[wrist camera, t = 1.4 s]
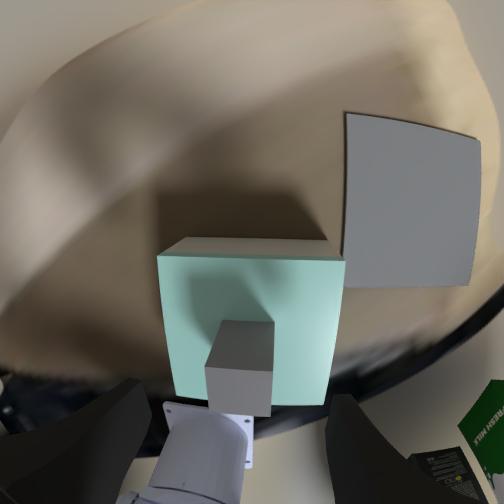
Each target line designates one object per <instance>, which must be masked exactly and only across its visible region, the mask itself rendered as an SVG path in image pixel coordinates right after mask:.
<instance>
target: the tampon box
mask: <svg viewBox="0 0 504 504" xmlns="http://www.w3.org/2000/svg"><path fill="white" fill-rule="evenodd" d="M407 460H408V461H409V462H410V463H411V464H413V465H414V466H415V467H416V468H418V469H419V470H420V471H422V472H423V473H424V474H426V475H428V476H429V477H431V478H432V479H434V480H436V481H437V482H439V483H440V484H442V485H444V486H446V487H448V488H450V489H452V490H454V491H456V492H458V493H460V494H463V495H466V496H469V497H471V498H474V499H477V500H480V501H482V502H483V504H489V503H488V501H487V499H486V497H485V495H484V493H483V490H482V488H481V486H480V484H479V482H478V480H477V478H476V476H475V474H474V472H473V470H472V468H471V467H470V464H469V462H468V461H467V458H466V457H465V455H464V453H463V451H462V449H461V448H460V446H458V447H454V448H449V449H443V450H437V451H431V452H424V453H417V454H411V455H410V457H409V458H408V459H407Z"/></svg>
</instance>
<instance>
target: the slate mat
mask: <svg viewBox="0 0 504 504" xmlns="http://www.w3.org/2000/svg"><path fill="white" fill-rule="evenodd" d="M480 198H481V143H480V141H478V140H475V139H472V138H469V137H465V136H462V135H458V134H454V133H451V132H447V131H443V130H439V129H435V128H431V127H426V126H422V125H417V124H412V123H407V122H402V121H396V120H390V119H384V118H378V117H371V116H363V115H355V114H346V202H345V222H344V238H343V251H342V257H343V258H344V260H345V261H346V263H345V274H344V283H343V287H436V286H466V285H469V281H470V277H471V271H472V266H473V260H474V254H475V248H476V241H477V233H478V224H479V213H480Z"/></svg>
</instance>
